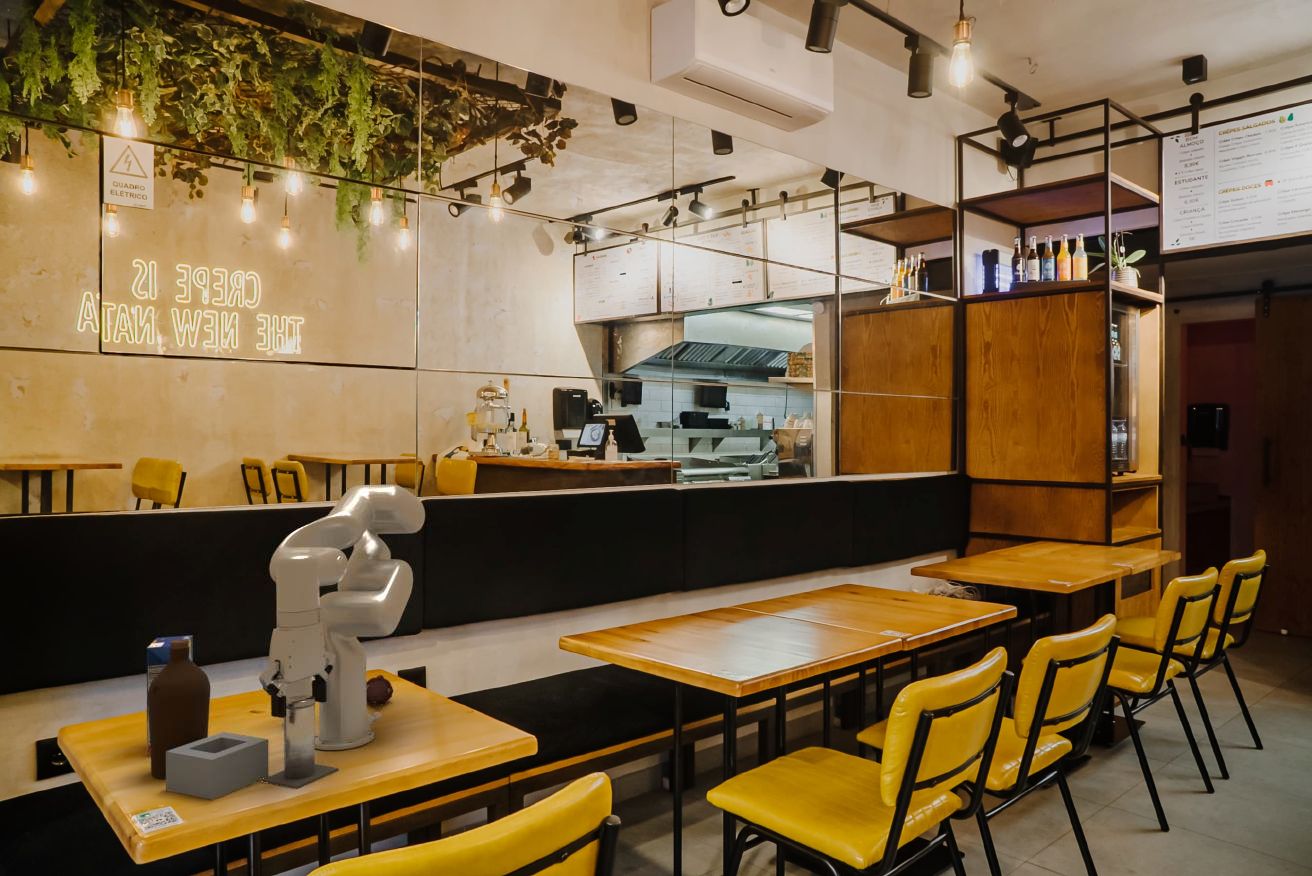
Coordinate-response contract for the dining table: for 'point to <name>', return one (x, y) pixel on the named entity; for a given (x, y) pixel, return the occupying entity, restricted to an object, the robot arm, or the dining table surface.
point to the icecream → (378, 690)
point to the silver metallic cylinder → (299, 737)
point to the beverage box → (160, 665)
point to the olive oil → (177, 706)
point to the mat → (297, 783)
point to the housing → (216, 765)
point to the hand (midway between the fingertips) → (299, 708)
